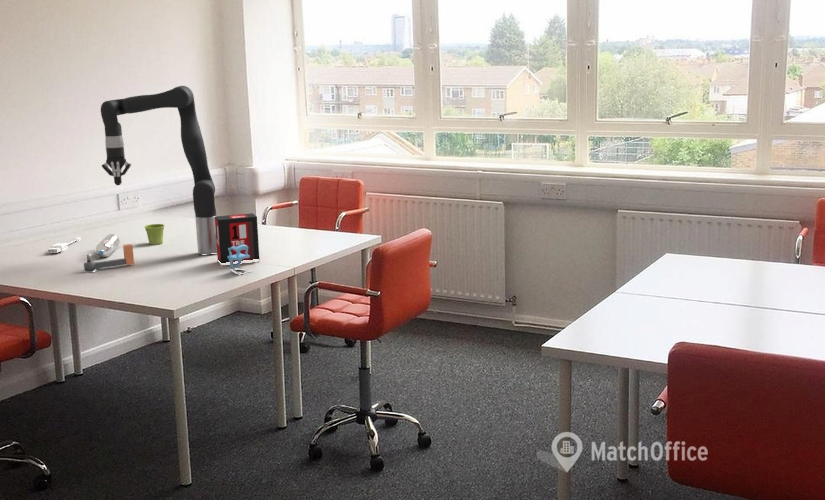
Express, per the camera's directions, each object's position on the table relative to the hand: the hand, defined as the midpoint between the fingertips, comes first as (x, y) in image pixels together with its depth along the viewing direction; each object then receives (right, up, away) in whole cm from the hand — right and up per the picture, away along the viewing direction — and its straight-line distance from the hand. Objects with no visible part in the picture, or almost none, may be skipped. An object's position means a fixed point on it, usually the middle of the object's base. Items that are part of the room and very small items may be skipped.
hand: (118, 184), depth 399 cm
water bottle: (-10, -25, +22) cm, 34 cm away
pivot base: (-5, -38, -21) cm, 44 cm away
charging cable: (-33, -28, +25) cm, 50 cm away
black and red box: (+56, -34, -10) cm, 66 cm away
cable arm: (+2, -36, -17) cm, 40 cm away
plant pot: (+8, -26, +29) cm, 40 cm away
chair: (+59, -38, -28) cm, 76 cm away
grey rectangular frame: (-4, -36, -14) cm, 39 cm away
